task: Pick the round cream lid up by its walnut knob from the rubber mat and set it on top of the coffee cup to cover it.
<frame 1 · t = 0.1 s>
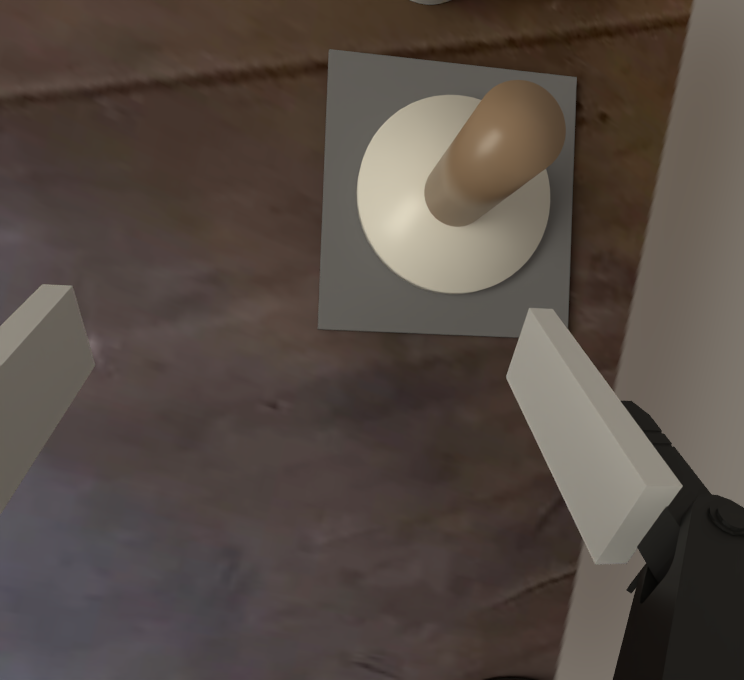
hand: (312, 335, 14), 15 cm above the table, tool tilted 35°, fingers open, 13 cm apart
mat: (448, 202, 31), on the table
lid: (451, 198, 30), point 1 cm above the table, touching mat
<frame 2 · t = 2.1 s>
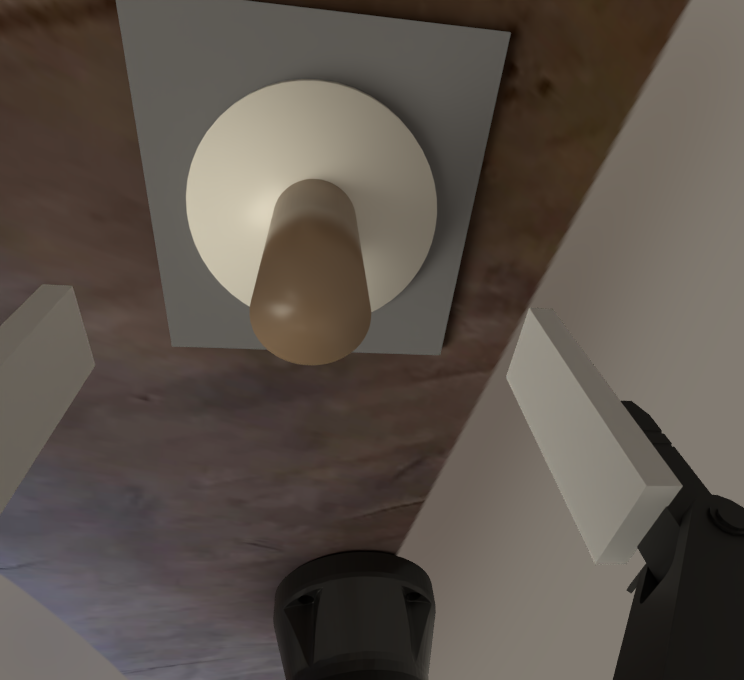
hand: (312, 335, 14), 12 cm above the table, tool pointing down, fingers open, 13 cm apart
mat: (315, 208, 25), on the table
lid: (315, 213, 24), point 1 cm above the table, touching mat
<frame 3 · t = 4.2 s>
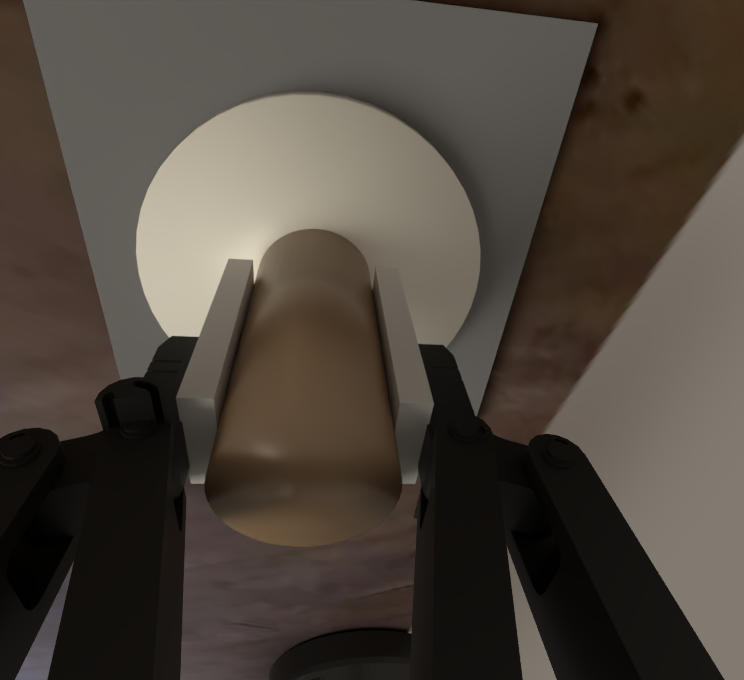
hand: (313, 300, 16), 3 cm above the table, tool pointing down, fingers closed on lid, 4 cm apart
mat: (315, 259, 19), on the table
lid: (315, 269, 18), point 1 cm above the table, touching gripper
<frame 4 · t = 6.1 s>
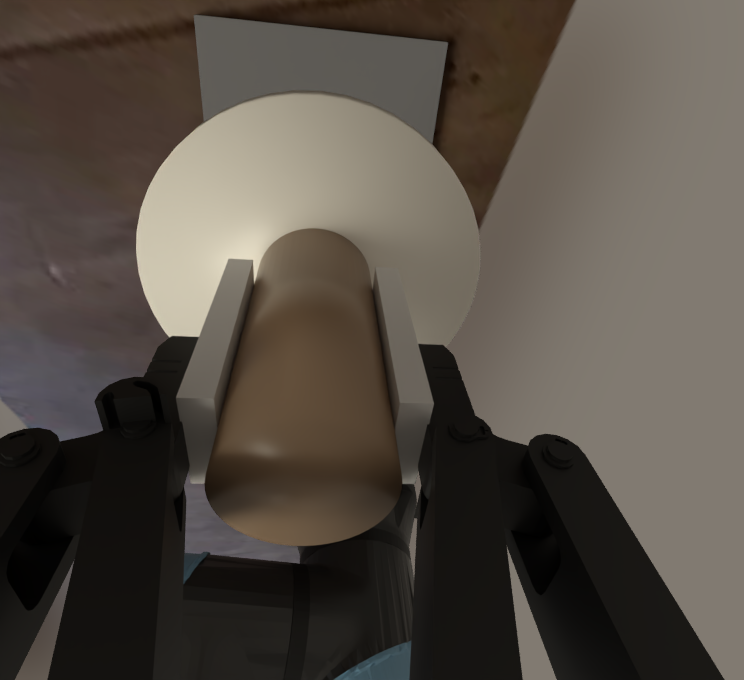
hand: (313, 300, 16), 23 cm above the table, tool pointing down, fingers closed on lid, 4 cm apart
mat: (320, 163, 36), on the table
lid: (315, 268, 18), point 21 cm above the table, touching gripper
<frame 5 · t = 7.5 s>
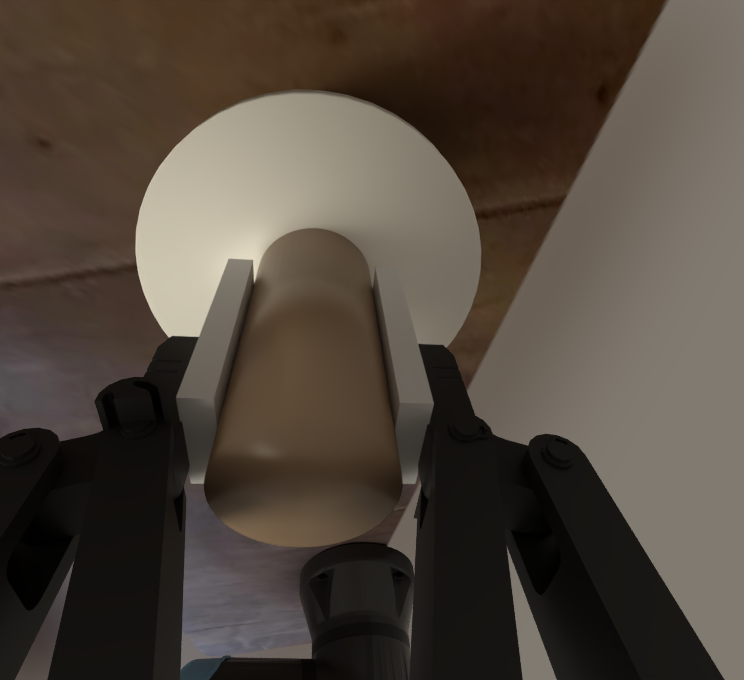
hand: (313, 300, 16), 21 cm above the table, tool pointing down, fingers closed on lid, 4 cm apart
lid: (315, 268, 18), point 18 cm above the table, touching gripper
when the fingers open (19 cm above the table, at t = 8.4 s): lid drops 2 cm, resting on coffee cup.
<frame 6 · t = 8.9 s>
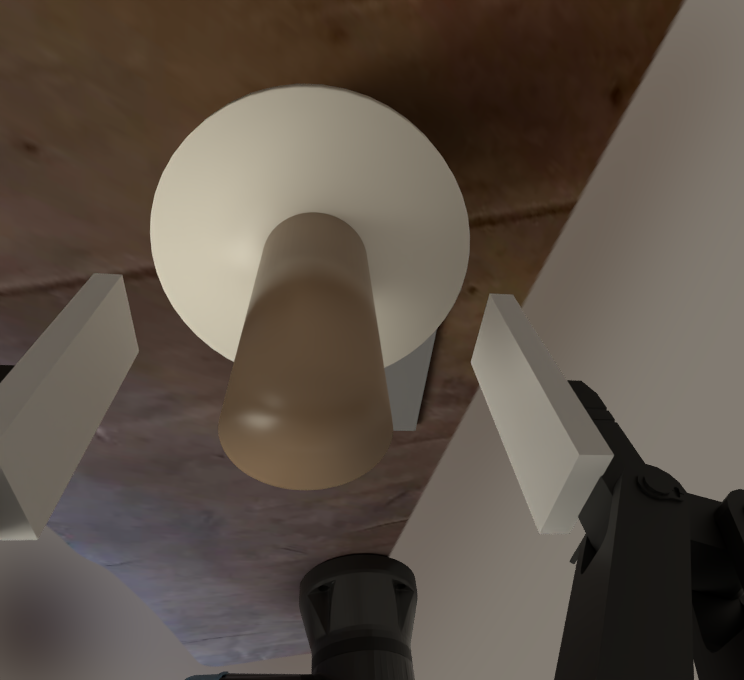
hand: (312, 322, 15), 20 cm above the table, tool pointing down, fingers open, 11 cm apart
mat: (336, 351, 41), on the table
lid: (315, 251, 19), point 15 cm above the table, touching coffee cup
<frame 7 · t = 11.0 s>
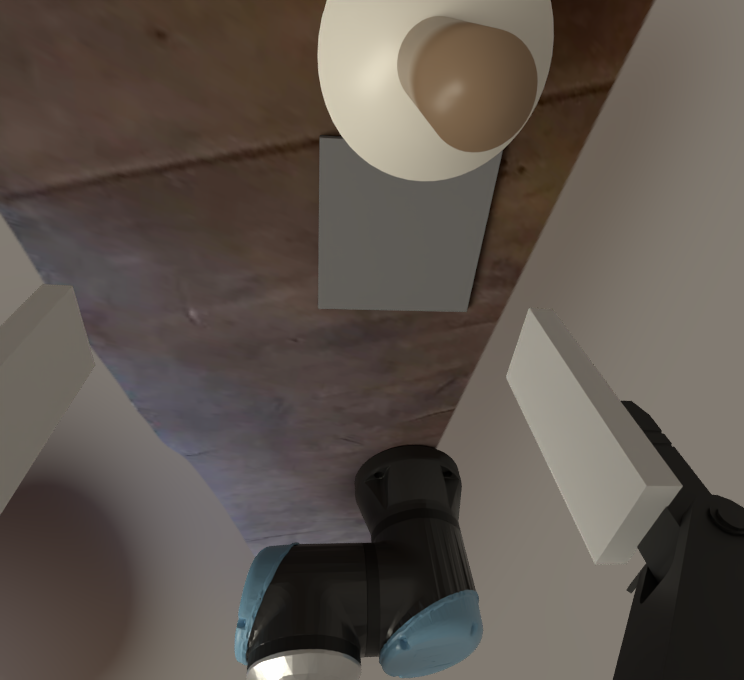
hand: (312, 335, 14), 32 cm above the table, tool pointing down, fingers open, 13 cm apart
mat: (401, 232, 47), on the table
lid: (432, 60, 25), point 15 cm above the table, touching coffee cup
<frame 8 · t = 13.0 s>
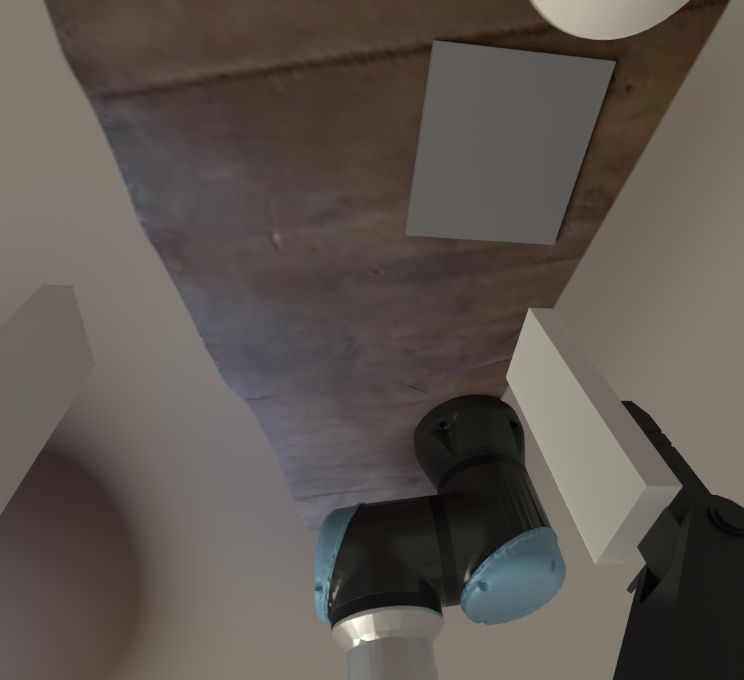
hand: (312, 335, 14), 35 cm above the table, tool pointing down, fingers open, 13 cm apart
mat: (499, 153, 46), on the table
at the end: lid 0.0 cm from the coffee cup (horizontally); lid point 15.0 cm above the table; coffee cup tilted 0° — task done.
